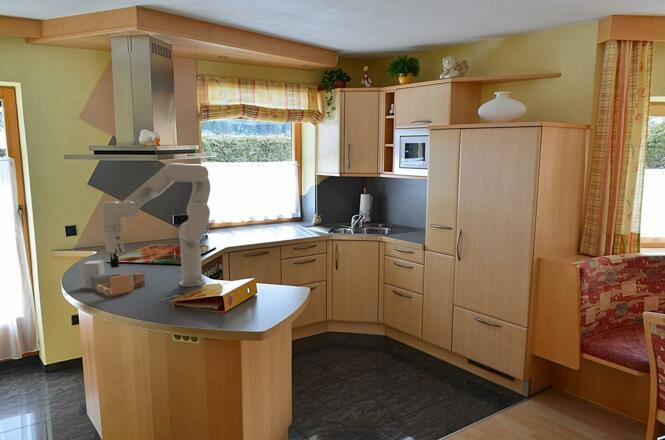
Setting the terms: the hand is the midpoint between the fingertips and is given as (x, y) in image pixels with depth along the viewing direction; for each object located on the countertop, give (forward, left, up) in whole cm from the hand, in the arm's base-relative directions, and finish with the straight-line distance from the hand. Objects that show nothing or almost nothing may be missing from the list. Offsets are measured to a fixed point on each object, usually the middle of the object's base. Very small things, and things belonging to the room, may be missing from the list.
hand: (114, 267), depth 234 cm
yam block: (+4, -13, -13) cm, 18 cm away
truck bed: (+6, -1, -13) cm, 14 cm away
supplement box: (+23, +1, -13) cm, 26 cm away
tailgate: (-5, -1, -12) cm, 13 cm away
